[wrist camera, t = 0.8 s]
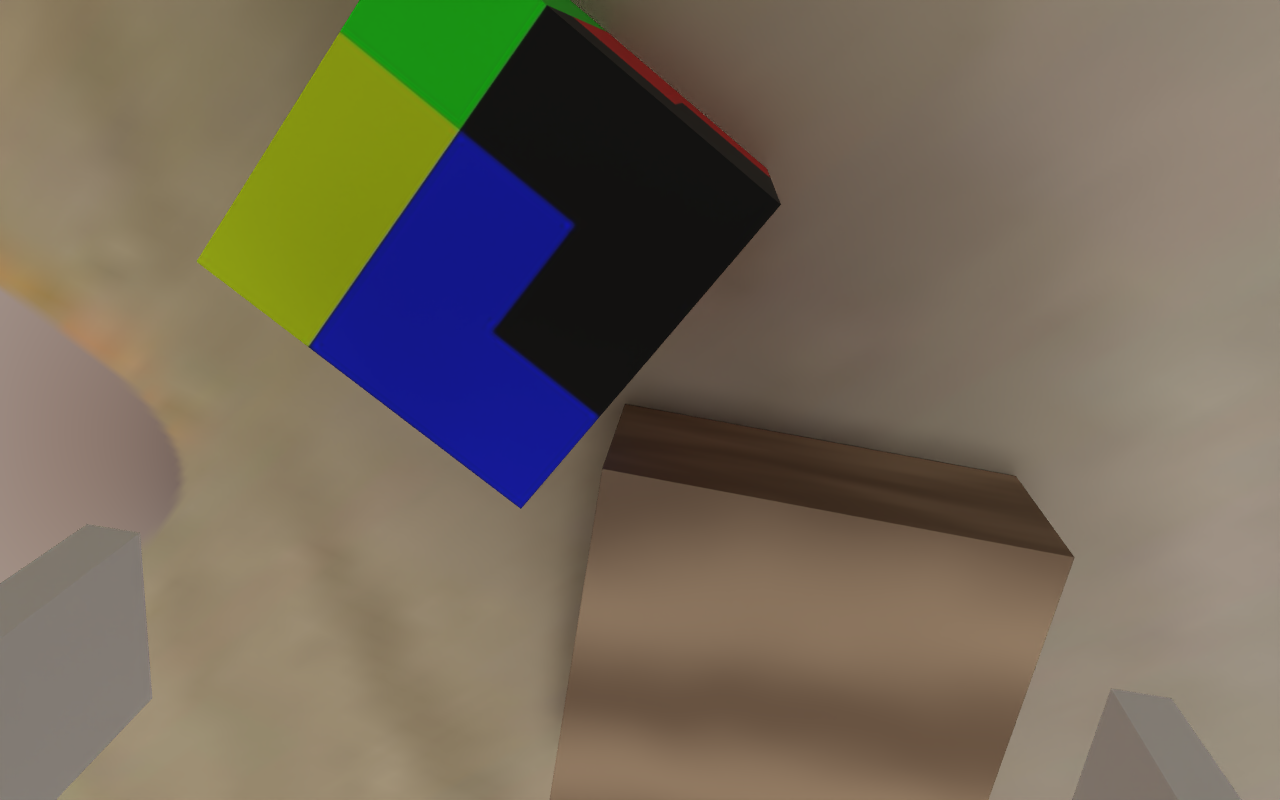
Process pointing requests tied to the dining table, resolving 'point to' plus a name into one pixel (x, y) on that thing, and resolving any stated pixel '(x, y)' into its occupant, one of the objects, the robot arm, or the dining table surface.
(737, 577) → the walnut plinth
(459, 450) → the puzzle toy
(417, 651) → the dining table surface
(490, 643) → the dining table surface
